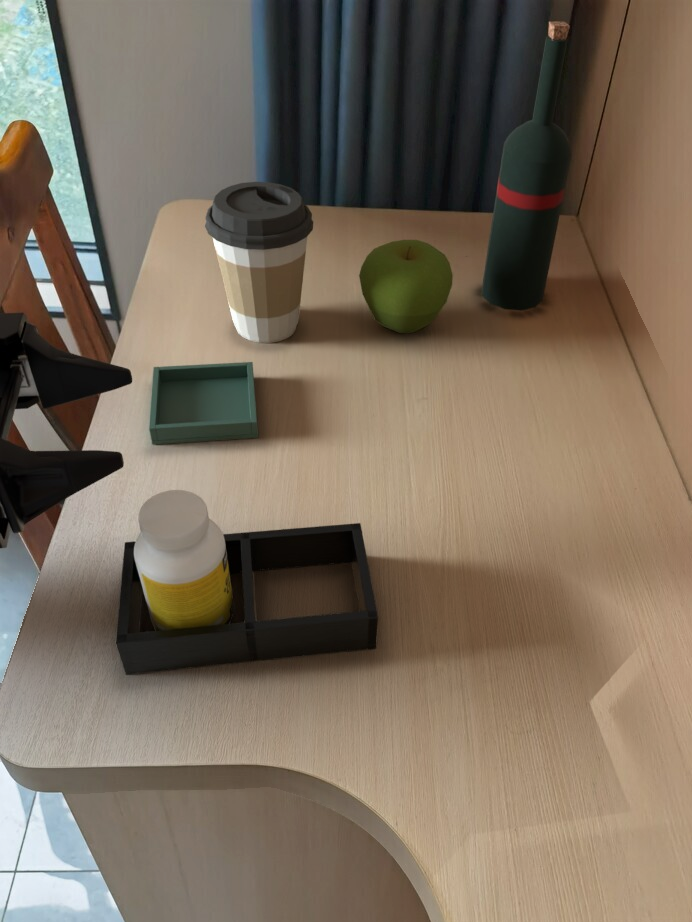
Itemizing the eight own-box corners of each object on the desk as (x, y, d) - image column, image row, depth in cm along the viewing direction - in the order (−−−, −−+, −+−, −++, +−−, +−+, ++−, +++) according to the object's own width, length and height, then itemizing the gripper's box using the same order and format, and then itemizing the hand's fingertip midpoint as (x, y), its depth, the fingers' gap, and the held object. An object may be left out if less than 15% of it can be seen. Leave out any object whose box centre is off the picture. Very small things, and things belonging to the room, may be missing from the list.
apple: (385, 292, 100) (389, 215, 93) (462, 316, 97) (472, 238, 90) (341, 332, 93) (342, 252, 86) (422, 360, 90) (429, 279, 83)
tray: (152, 444, 78) (148, 428, 76) (156, 382, 85) (153, 366, 83) (258, 437, 79) (257, 422, 78) (253, 377, 86) (252, 361, 85)
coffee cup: (335, 328, 94) (336, 202, 83) (260, 366, 87) (251, 236, 77) (271, 290, 99) (264, 168, 88) (196, 324, 93) (179, 197, 82)
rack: (125, 675, 59) (115, 643, 56) (133, 574, 66) (124, 541, 63) (376, 648, 62) (378, 617, 59) (359, 555, 69) (360, 522, 66)
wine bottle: (526, 268, 106) (574, 7, 85) (551, 308, 99) (611, 35, 78) (469, 271, 105) (503, 7, 83) (490, 312, 98) (534, 35, 76)
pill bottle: (238, 643, 62) (223, 541, 53) (151, 655, 61) (123, 553, 52) (232, 579, 66) (218, 476, 58) (151, 589, 65) (125, 485, 57)
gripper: (-227, 423, 41) (90, 406, 43) (-125, 247, 54) (115, 241, 56) (-138, 565, 49) (126, 544, 51) (-67, 382, 62) (141, 372, 64)
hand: (127, 415), depth 55 cm, fingers open, 9 cm apart
